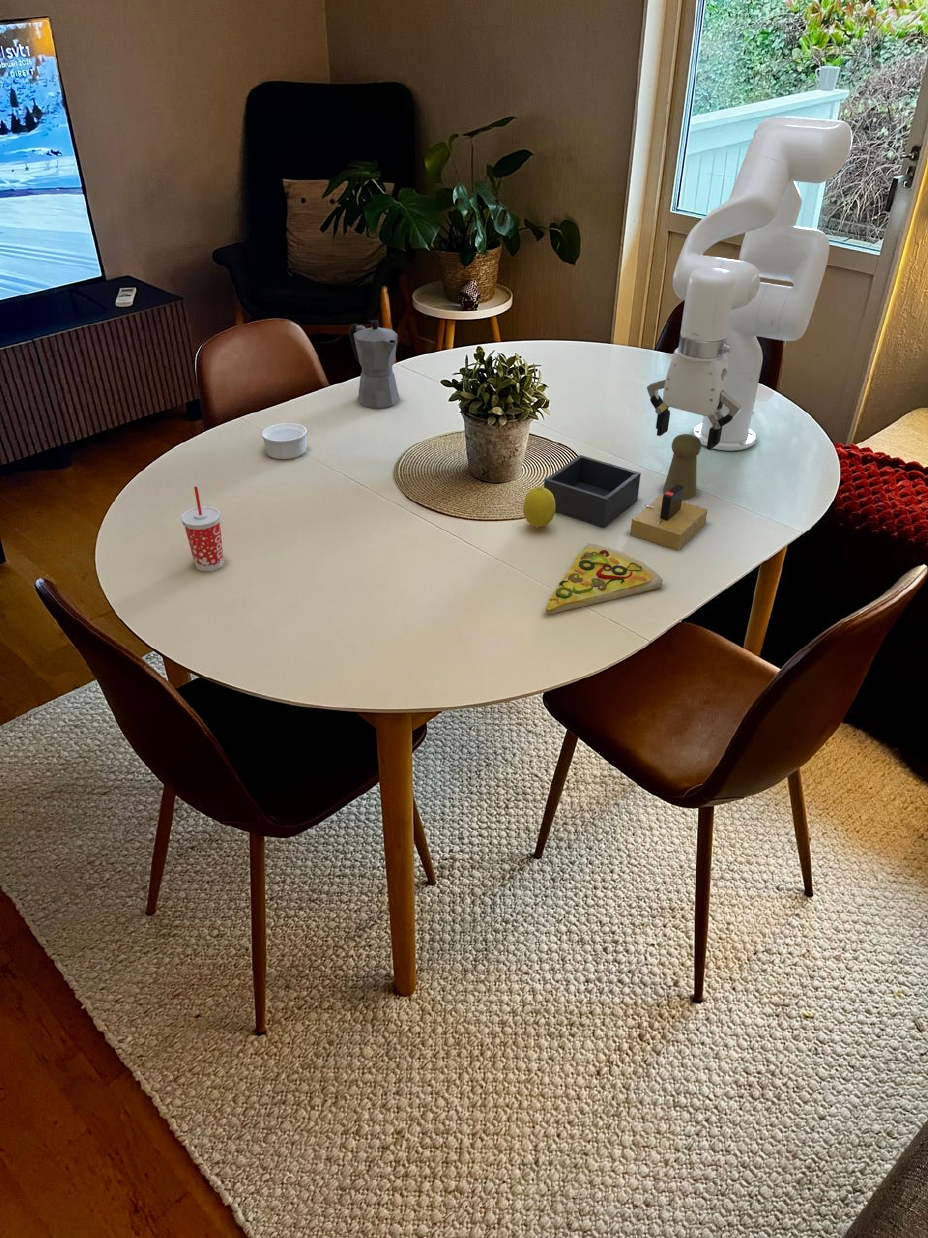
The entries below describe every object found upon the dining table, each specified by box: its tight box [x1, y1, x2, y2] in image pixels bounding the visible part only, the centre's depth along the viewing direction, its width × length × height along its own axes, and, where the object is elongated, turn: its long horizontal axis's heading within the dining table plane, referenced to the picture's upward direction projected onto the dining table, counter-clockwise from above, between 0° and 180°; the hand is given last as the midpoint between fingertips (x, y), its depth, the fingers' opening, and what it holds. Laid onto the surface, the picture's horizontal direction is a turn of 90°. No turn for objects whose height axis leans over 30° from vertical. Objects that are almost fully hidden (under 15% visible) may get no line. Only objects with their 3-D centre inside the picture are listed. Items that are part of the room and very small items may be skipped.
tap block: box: [629, 494, 709, 551], centre depth 165 cm, size 11×9×3 cm
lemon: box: [522, 485, 556, 529], centre depth 164 cm, size 6×6×8 cm
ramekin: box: [261, 422, 308, 460], centre depth 189 cm, size 9×9×4 cm
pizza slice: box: [545, 542, 663, 616], centre depth 149 cm, size 16×21×3 cm
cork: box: [662, 433, 702, 500], centre depth 174 cm, size 6×6×11 cm
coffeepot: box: [348, 319, 401, 410], centre depth 207 cm, size 15×9×18 cm, turn 44°
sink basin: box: [543, 454, 642, 529], centre depth 172 cm, size 13×13×6 cm
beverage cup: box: [180, 486, 225, 572], centre depth 152 cm, size 6×6×14 cm
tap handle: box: [660, 484, 684, 521], centre depth 163 cm, size 5×2×5 cm, turn 144°
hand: (686, 440), depth 171 cm, fingers open, 9 cm apart
